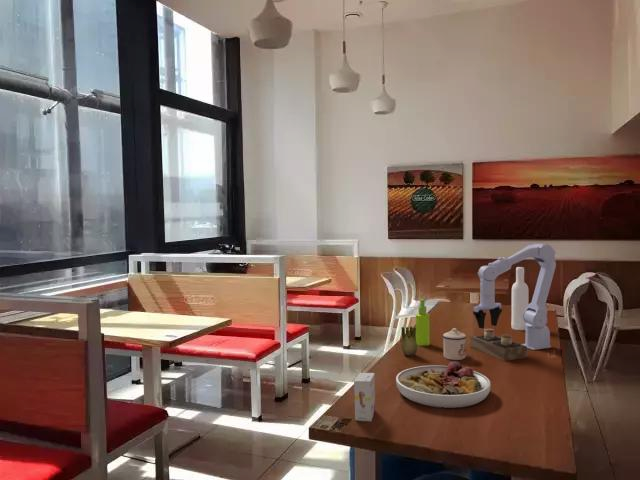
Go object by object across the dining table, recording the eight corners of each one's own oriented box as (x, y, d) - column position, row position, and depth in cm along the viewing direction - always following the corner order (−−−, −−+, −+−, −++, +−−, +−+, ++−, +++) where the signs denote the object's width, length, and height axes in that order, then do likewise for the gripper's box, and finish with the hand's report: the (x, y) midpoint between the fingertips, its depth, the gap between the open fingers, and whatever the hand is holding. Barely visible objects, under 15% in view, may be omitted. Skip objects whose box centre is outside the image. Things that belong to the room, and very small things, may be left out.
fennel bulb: (400, 355, 219) (399, 326, 218) (406, 352, 223) (406, 324, 222) (412, 357, 215) (412, 328, 214) (418, 355, 219) (418, 326, 218)
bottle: (531, 330, 256) (531, 268, 254) (514, 330, 256) (514, 268, 254) (525, 326, 264) (525, 266, 262) (509, 326, 264) (509, 266, 262)
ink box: (359, 409, 162) (358, 371, 162) (375, 410, 161) (375, 372, 160) (354, 420, 154) (353, 380, 153) (371, 422, 153) (370, 381, 152)
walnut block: (491, 344, 233) (491, 332, 232) (527, 357, 212) (527, 344, 212) (470, 347, 229) (470, 335, 229) (504, 360, 208) (504, 347, 208)
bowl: (475, 419, 154) (475, 392, 154) (381, 400, 170) (380, 376, 169) (500, 387, 179) (500, 365, 179) (416, 374, 195) (416, 353, 195)
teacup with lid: (463, 361, 209) (462, 332, 208) (440, 358, 213) (439, 330, 212) (470, 353, 219) (470, 325, 218) (448, 351, 223) (448, 323, 223)
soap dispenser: (430, 342, 238) (430, 297, 237) (428, 346, 232) (428, 300, 230) (417, 341, 240) (417, 297, 239) (415, 345, 234) (414, 300, 232)
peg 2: (507, 345, 218) (507, 333, 217) (514, 348, 214) (514, 336, 214) (498, 347, 216) (498, 334, 216) (505, 349, 213) (505, 337, 212)
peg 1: (490, 339, 228) (490, 328, 228) (496, 341, 224) (496, 330, 224) (481, 340, 227) (481, 329, 226) (488, 343, 223) (488, 331, 223)
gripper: (492, 291, 230) (492, 322, 231) (467, 295, 222) (468, 327, 223) (505, 293, 224) (505, 325, 225) (480, 297, 216) (481, 330, 217)
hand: (487, 326), depth 224 cm, fingers open, 7 cm apart
